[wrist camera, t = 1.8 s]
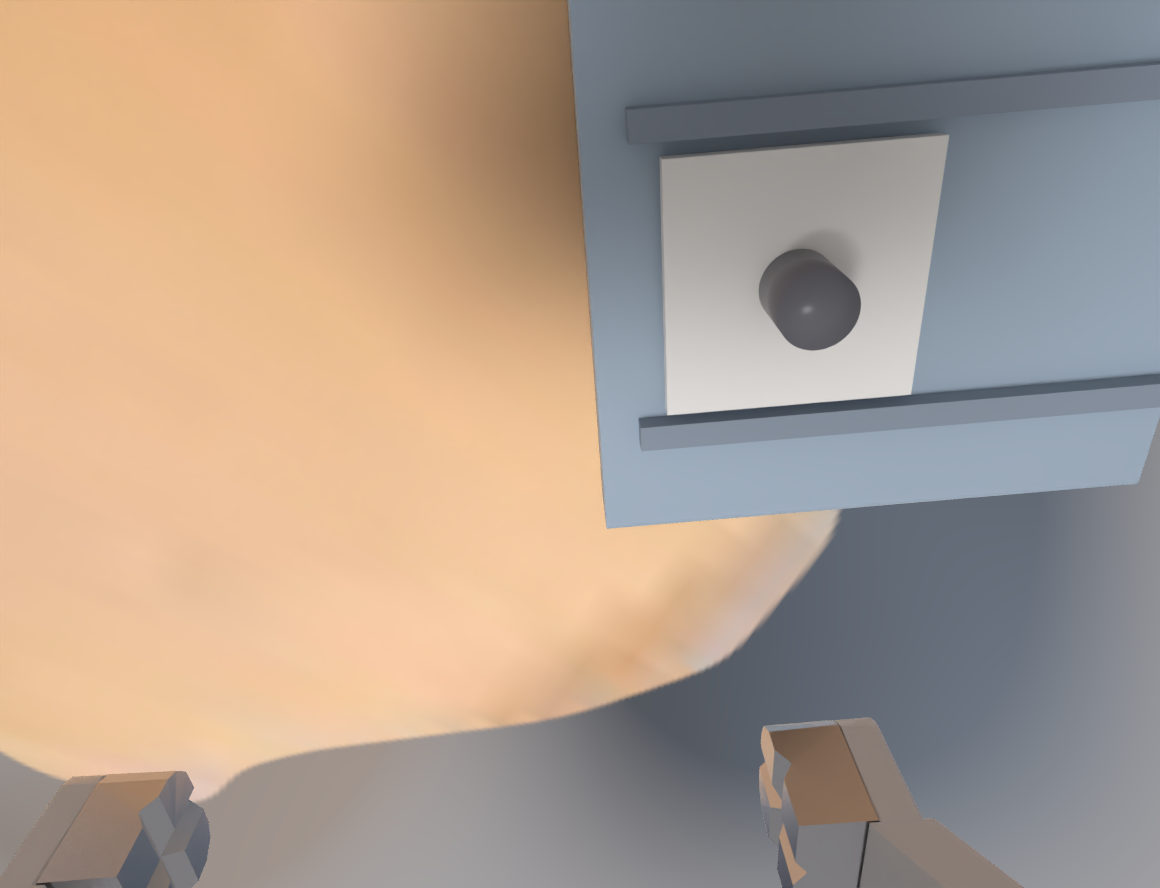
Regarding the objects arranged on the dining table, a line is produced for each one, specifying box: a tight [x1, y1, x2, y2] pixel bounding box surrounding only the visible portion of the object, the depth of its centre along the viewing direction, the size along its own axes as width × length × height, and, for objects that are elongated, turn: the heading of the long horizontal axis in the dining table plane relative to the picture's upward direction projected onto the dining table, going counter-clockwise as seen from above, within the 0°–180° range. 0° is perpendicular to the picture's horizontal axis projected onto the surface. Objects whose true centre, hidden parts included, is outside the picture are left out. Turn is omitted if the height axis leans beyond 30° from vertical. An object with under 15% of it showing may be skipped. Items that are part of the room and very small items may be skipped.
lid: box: [659, 132, 949, 415], centre depth 26 cm, size 9×9×3 cm
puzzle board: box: [567, 0, 1160, 529], centre depth 28 cm, size 20×22×3 cm
